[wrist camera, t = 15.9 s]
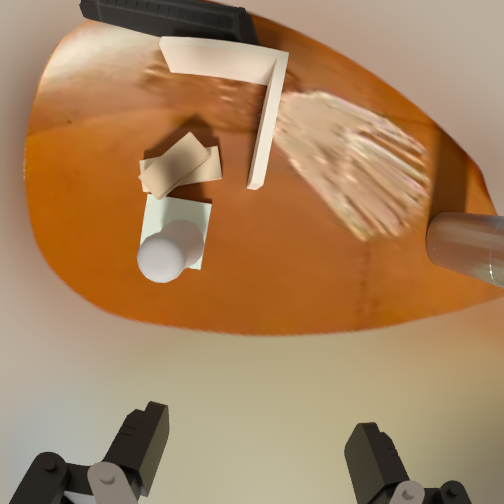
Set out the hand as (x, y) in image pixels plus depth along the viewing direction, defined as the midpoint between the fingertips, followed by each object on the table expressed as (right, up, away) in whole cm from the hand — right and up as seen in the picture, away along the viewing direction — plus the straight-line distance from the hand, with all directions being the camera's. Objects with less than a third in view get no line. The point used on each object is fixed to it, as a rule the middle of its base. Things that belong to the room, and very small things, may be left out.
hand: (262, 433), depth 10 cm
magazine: (-14, +41, +21) cm, 48 cm away
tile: (-10, +10, +25) cm, 29 cm away
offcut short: (-10, +18, +23) cm, 30 cm away
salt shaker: (-9, +9, +25) cm, 28 cm away
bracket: (-6, +24, +23) cm, 34 cm away
